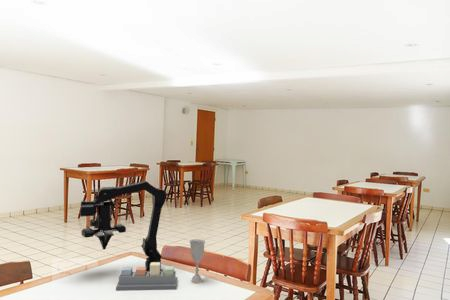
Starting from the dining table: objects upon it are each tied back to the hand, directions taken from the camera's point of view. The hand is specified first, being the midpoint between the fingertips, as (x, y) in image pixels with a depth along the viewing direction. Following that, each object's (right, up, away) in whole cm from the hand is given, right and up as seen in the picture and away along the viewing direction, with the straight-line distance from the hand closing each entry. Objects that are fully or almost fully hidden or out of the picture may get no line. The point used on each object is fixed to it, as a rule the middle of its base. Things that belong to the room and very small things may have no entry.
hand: (103, 249), depth 169 cm
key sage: (+31, -11, -9) cm, 34 cm away
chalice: (+43, -14, -4) cm, 45 cm away
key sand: (+25, -9, -9) cm, 28 cm away
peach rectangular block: (+19, -11, -10) cm, 24 cm away
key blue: (+13, -11, -10) cm, 20 cm away
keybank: (+22, -13, -9) cm, 27 cm away
